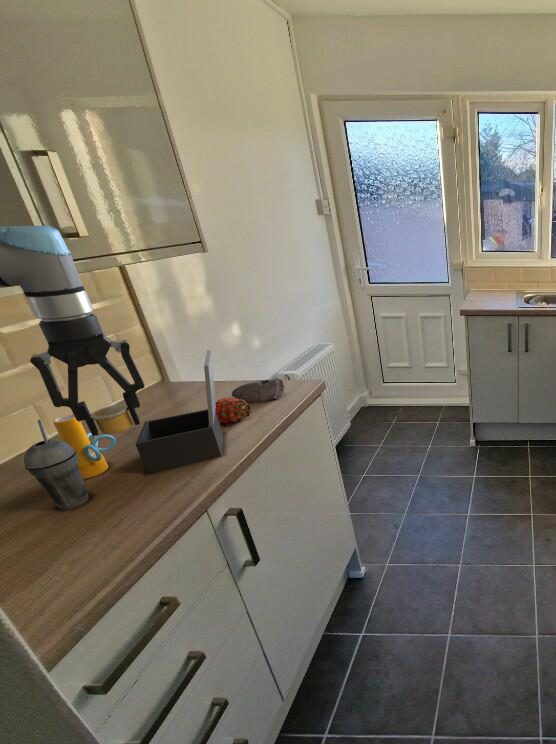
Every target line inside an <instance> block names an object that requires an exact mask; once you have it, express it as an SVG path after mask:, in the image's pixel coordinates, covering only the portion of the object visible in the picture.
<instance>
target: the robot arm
mask: <svg viewBox="0 0 556 744" xmlns="http://www.w3.org/2000/svg"><path fill="white" fill-rule="evenodd" d="M77 269H78V268H77V267H76V264H75V262H74V259H73V256H72V252H71V251H70V250H69V248H68V247H67V244H66V243H65V240H64V238H63V236H62V234H61V232H60V231H59V230H58V229H57V228H55V227H53V226H50V225H19V226H18V225H14V226H13V225H12V226H10V225H9V226H0V288H9V287H10V288H11V287H20V288H21V290H22V292H23V294H24V297H25V298H26V301H27V303H28V305H29V307H30V309H31V311H32V313H33V316H34V317H35V319H38V320H40V321H39V323H38V325H39V328H40V330H41V332H42V334H43V336H44V338H45V341H46V342H47V346H48V348H47V350H46V351H43V352H41V353H39V354H36V353H35V354H32V355H31V357H30V359H29V362H30V363H31V364H32V365H33V366H34V367H35V368H36V369H37V370H38V371H39V374H40V376H41V378H42V381H43V383H44V386H45V388H46V391H47V393H48V396H49V398H50V400H51V403H52V405H53V406H54V407H55V408H61V407H67V408H69V409H70V410H71V412H72V414H74V416H75V418H76V420H77V421H78V422H84V421H85V423H86V426H87V428H88V430H89V431H90V432H89V433H91V434H92V436H99V429H98V427H97V425H96V422H95V420H92V419H91V418H90V415H91V414H92V413H91V412H90V410H89V407H88V405H87V403H86V401H85V400H84V401H83V400H82V401H79V368H82V367H85V366H88V365H92V366H93V365H99V366H100V367H101V368H102V369H103V370H104V372H106V373H107V374H108V375H109V376H110V377H111V378H112V379H113V381H114V382H116V384H118V386H119V387H120V388H121V389H122V390H123V391H124V392H122V397H123V400H124V402H125V405H127V407H128V409H129V410H128V412H129V414H130V417H131V418H132V419H131V420H132V422H133V423H134V425H135V426H138V425H140V424H141V421H140V418H139V416H138V413H137V411H136V409H137V408H138V409H139V408H140V407H141V403H140V399H139V397H138V394H137V392H138V391H140V390H143V389H144V388H145V383H144V380H143V378H142V376H141V374H140V371H139V370H138V367H137V366H136V364H135V361H134V359H133V356H132V355H131V353H130V347H131V346H130V341H129V340H126V339H123V340H121V341H120V340H110V338H108V337H107V336H106V335H105V332H104V331H103V328H102V325H101V324H100V321H99V319H98V317H97V315H95V314H94V313H93V312H94V307H93V304H92V302H91V300H90V298H89V295H88V293H87V291H86V288H85V286H84V284H83V282H82V279H81V276H80V274H79V272H78V270H77ZM111 348H113V349H114V351H115V352H117V353H120V355H121V358H122V360H123V362H124V364H125V366H126V368H127V370H128V372H129V374H130V376H131V378H132V380H133V383H132V384H131V382H130V381H129V380H128V379H127V378H126V377H125V376H124V375H123V374H122V372H120V371H119V370H118V368H117V367H115V365H114V364H113V363H112V362H111V361H110V359H109V358H108V357H107V354H108V353H109V351H110V349H111ZM52 357H53V358H54V359H56V360H58V361H60V362H62V363H64V364H66V365H67V395H68V396H67V397H63V394H62V392H61V390H60V388H59V385H58V382H57V379H56V377H55V375H54V372H53V369H52V367H51V364H52V359H51V358H52Z"/></svg>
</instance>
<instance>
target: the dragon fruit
mask: <svg viewBox="0 0 556 744" xmlns="http://www.w3.org/2000/svg"><path fill="white" fill-rule="evenodd" d="M215 403H216V408H215V411H216V415H217V418H218V421H219V424H221V423H224V424H225V426H230V425H233V423H235V424H236V423H237V422H241V421H243V420H244V419H246V418H247V417H249V416H250V415H251V414H252V412H251V411H250V410H251V406H250V404H249V403H247V402H246V401H244V400H242V399H238V398H235V397H232V396H228V398H227V397H222V398H218V399H217V401H215Z"/></svg>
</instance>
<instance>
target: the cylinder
mask: <svg viewBox="0 0 556 744" xmlns="http://www.w3.org/2000/svg"><path fill="white" fill-rule="evenodd" d="M51 422H52V424H53V426H54V428H55V430H56V432H57V434H58V436H59V438H60V439H61V440H60V441H62V442H65V443H67V444H68V445H70V446H71V447H72V449H73V450H75V452H76V456H77V461H78V462H77V464H78V467H79V469H80V472H81V475H82V478H83V480H85V479H90V478H93V477H96V476H98V475H101V474H102V473H104V472H105V471H107V470H108V469H109V465H108V463H107V461H106V459H105V457H104V455H103V452H104V453H105V452H108V451H110V450H112V449H114V447H115V446H116V444H117V440H116V438H115V437H114V436H113V435H111V434H100V435H96V436H92V434H91V432H88V433H87V432H86V430H85V428H84V426H83V424H82V421H80V422H78V421H77V420H76V418H75V416H74V414H73V413H70V414H64V415H60V416H57V417H55V418H54V419H53V420H52V421H51ZM90 437H91V438H92V440H90ZM102 439H109V440H110V442H111V443H110V444H109V446H107V447H104V448H102V447H101V448H100V447H98V446H99V440H102Z"/></svg>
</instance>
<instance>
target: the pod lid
mask: <svg viewBox="0 0 556 744" xmlns="http://www.w3.org/2000/svg"><path fill="white" fill-rule="evenodd" d="M204 360H205V361H204V364H203V366H204V367H203V370H204V380H205V381H204V382H205V393H206V402H207V403H206V404H207V409H208V416H209V426H214V418H215V408H216V403H215V402H216V395H215V394H216V392H215V391H216V390H215V381H214V367H213V356H212V350H207V351H206V355H205V359H204Z"/></svg>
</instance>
